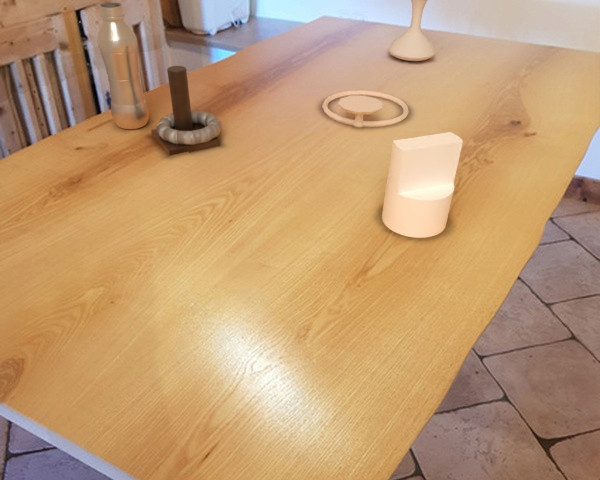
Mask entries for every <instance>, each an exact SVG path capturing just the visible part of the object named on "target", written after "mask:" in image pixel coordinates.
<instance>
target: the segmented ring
mask: <svg viewBox="0 0 600 480" xmlns="http://www.w3.org/2000/svg"><path fill="white" fill-rule="evenodd" d="M191 115H192V124H202V125H205V126H206V127H205V128H203V129H199V130H193V131H178V130H175V129H171V128H173V127H175V124H174V117H173V112H171V113H168V114H167V115H165V116H163V117H161V119H159V120H158V123H157V125H156V127H155V129H156V130H157V133H158V134H159V135H160V136H161V137H162V139H163V140H165V141H168V142H171V143H174V144H180V145H194V144H199V143H204V142H208V141H210V140H212V139H213V138H215V137H217V138H218V136H219V135H220V134H221V130H222V125H223V124H222V122H221V120H220V119H219V118H218V117H217V116H216V115H214V114H213V113H209V112H207V111H202V110H191Z"/></svg>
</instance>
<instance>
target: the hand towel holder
mask: <svg viewBox="0 0 600 480" xmlns="http://www.w3.org/2000/svg"><path fill="white" fill-rule="evenodd" d="M378 98H381V99H385V100H388V101H391V102H393V103H395V104H397V105H398V106H400V107H401V108H402V114H401V115H399V116H396V117H394V118H390V119H384V120H383V119H382V120H364V116H365V115H372V114H375V113H378V112H380V111H381V110H382V109H383V106H384V103H383V102H382V101H380V100H379V99H378ZM337 99H339V101H338V103H337V104H338V106H339V107H340V108H341V109H342V110H344V111H345V112H347V113H350V114H354V118H349V117H345V116H342V115H339V114H337V113H335V112H333V111H331V109H329V104H330V103H331V102H333V101H335V100H337ZM321 107H322V110H323V112H324V114H326V115H327V116H328V117H329V118H330V119H332V120H334V121H337V122H339V123H342V124H346V125H351V126H354V127H355V128H363V127H365V128H374V127H375V128H376V127H378V128H379V127H385V126H386V127H387V126H392V125H395V124H398V123H400V122H402V121H403V120H405V119H406V118H407V117H408V116H409V107H408V105H407V104H406V102H405V101H404V100H402V99H400V98H399V97H397V96H394V95H392V94H389V93H385V92H382V91H381V92H380V91H375V90H363V89H358V90H357V89H356V90H353V89H352V90H343V91H340V92H335V93H333V94H331V95H329V96H327V98H325V100H323V103H322V106H321Z"/></svg>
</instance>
